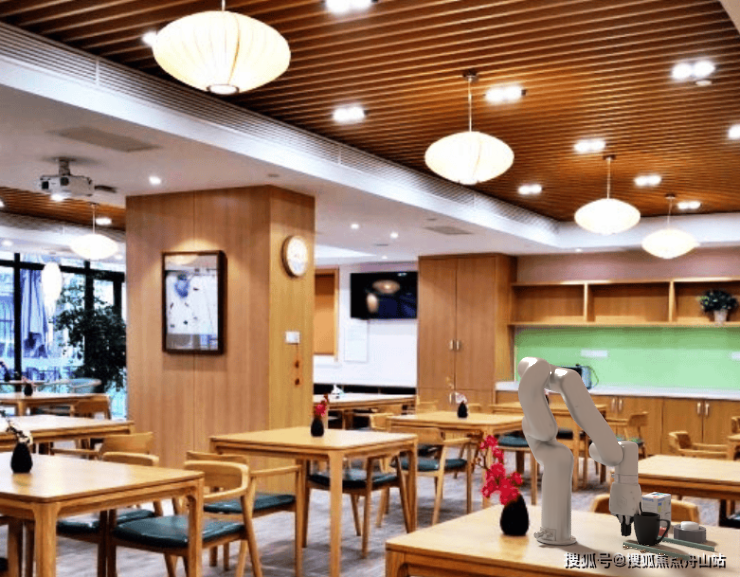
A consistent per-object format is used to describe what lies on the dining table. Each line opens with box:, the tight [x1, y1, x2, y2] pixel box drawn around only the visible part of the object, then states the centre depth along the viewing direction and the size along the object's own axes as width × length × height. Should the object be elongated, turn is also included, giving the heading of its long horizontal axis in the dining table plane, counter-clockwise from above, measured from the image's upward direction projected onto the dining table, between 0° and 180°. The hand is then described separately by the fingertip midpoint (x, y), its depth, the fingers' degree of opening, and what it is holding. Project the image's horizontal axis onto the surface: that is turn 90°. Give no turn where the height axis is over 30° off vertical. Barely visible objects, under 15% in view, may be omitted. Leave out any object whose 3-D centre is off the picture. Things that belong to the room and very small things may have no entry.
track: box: [622, 536, 715, 562], centre depth 282 cm, size 20×22×1 cm
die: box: [658, 527, 669, 538], centre depth 297 cm, size 3×3×3 cm
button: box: [680, 520, 700, 530], centre depth 294 cm, size 6×6×5 cm
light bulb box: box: [642, 491, 672, 528], centre depth 315 cm, size 11×7×11 cm, turn 136°
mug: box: [633, 511, 672, 547], centre depth 287 cm, size 8×12×10 cm
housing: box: [672, 523, 707, 545], centre depth 294 cm, size 10×10×4 cm
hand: (626, 535), depth 293 cm, fingers closed
